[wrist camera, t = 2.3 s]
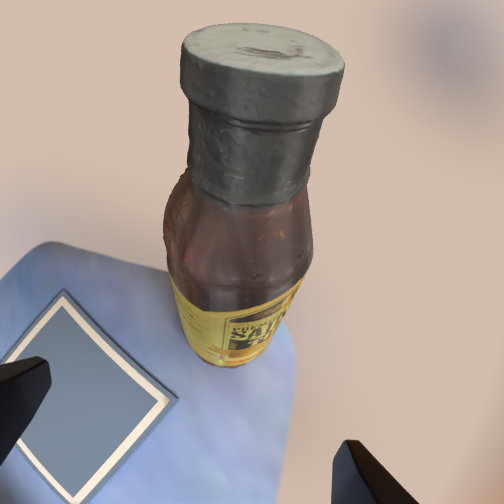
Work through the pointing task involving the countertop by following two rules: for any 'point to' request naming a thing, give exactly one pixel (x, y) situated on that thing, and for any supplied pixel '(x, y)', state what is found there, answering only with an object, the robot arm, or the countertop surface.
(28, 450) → the plate
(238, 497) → the countertop surface
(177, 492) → the countertop surface
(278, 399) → the countertop surface
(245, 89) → the sauce bottle
